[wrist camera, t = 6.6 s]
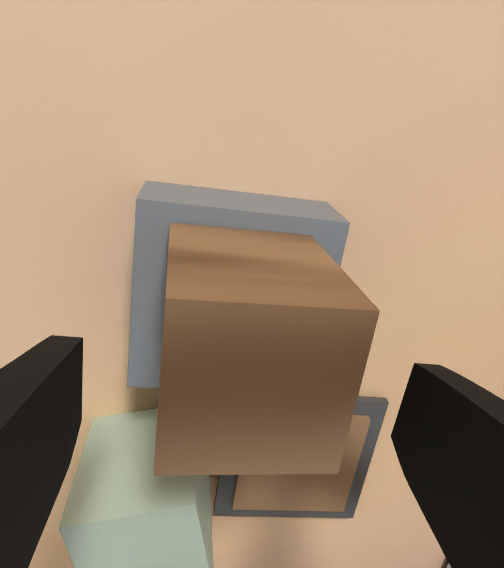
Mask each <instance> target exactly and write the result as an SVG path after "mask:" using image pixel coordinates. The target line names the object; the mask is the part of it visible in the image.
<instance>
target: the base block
mask: <svg viewBox="0 0 504 568" xmlns="http://www.w3.org/2000/svg"><path fill="white" fill-rule="evenodd" d="M170 223H181V224H192V225H204V226H215V227H226V228H237V229H249V230H260V231H271V232H282V233H294V234H305V235H311V236H312V237H313V238H314V239H315V240H316V241H317V242H318V243H319V244H320V246H321V247H322V248H323V249H324V250H325V251H326V252H327V253H328V254H329V256H330V257H331V258H332V259H333V260H334V261H335V262H336V263H337V264H338V265H339V267H340V265H341V261H342V256H343V252H344V247H345V243H346V238H347V234H348V229H349V225H350V222H349V221H347V220H346V219H345V218H344V217H343V216H342V215H341V214H339V213H338V212H337V211H336V210H335V209H334V208H333V207H331V206H330V205H329V204H328V203H327V202H322V201H314V200H305V199H297V198H288V197H280V196H272V195H263V194H255V193H246V192H238V191H230V190H221V189H213V188H204V187H196V186H188V185H179V184H171V183H162V182H154V181H146V182H145V184H144V185H143V187H142V189H141V191H140V193H139V194H138V196H137V198H136V213H135V234H134V255H133V276H132V296H131V317H130V338H129V358H128V379H127V387H141V388H159V378H160V362H161V347H162V332H163V317H164V303H165V288H166V273H167V258H168V244H169V229H170Z"/></svg>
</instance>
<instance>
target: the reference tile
mask: <svg viewBox="0 0 504 568" xmlns="http://www.w3.org/2000/svg"><path fill="white" fill-rule="evenodd" d="M388 403H389V402H388V401H387V399H386V398H376V397H359V396H358V398H357V402H356V405H355V409H354V413H353V417H352V421H351V425H350V429H349V433H348V437H347V440H346V444H345V448H344V452H343V456H342V460H341V464H340V468H339V472H338V474H267V475H219V479H218V485H217V491H216V497H215V504H214V515H217V516H273V517H329V518H353V516H354V513H355V509H356V506H357V503H358V500H359V497H360V493H361V490H362V487H363V484H364V480H365V477H366V474H367V471H368V468H369V464H370V461H371V458H372V455H373V451H374V448H375V445H376V442H377V439H378V435H379V432H380V429H381V426H382V423H383V419H384V416H385V413H386V410H387V406H388Z"/></svg>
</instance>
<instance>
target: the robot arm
mask: <svg viewBox="0 0 504 568" xmlns="http://www.w3.org/2000/svg"><path fill="white" fill-rule="evenodd" d="M82 369H83V338H80V337H67V336H54V335H51V336H50V337H48V338H46V339H45V340H43V341H42V342H40V343H39V344H37V345H36V346H34V347H33V348H31V349H30V350H28V351H27V352H25V353H24V354H22V355H21V356H19V357H18V358H16V359H15V360H13V361H12V362H10V363H9V364H7V365H6V366H4V367H3V368H1V369H0V568H28V567H29V564H30V562H31V559H32V557H33V554H34V552H35V549H36V547H37V545H38V542H39V540H40V537H41V535H42V532H43V530H44V527H45V525H46V522H47V520H48V518H49V515H50V513H51V510H52V508H53V505H54V503H55V500H56V498H57V495H58V493H59V491H60V488H61V486H62V483H63V481H64V478H65V476H66V473H67V470H68V468H69V465H70V462H71V458H72V455H73V451H74V447H75V444H76V440H77V436H78V432H79V428H80V424H81V421H82ZM391 438H392V441H393V444H394V447H395V450H396V453H397V456H398V459H399V462H400V465H401V467H402V470H403V473H404V476H405V478H406V480H407V482H408V484H409V486H410V488H411V490H412V492H413V494H414V496H415V498H416V500H417V502H418V504H419V506H420V508H421V510H422V512H423V514H424V516H425V518H426V520H427V522H428V524H429V526H430V528H431V529H432V531H433V533H434V535H435V537H436V539H437V541H438V543H439V545H440V547H441V549H442V551H443V553H444V555H445V556H446V558H447V560H448V562H449V563H448V565H447V567H446V568H504V400H503V399H501V398H499V397H498V396H496V395H494V394H492V393H491V392H489V391H487V390H486V389H484V388H482V387H481V386H479V385H477V384H475V383H474V382H472V381H470V380H468V379H466V378H465V377H463V376H461V375H459V374H457V373H455V372H453V371H451V370H449V369H447V368H445V367H443V366H440V365H433V364H420V363H414V365H413V368H412V371H411V375H410V378H409V381H408V384H407V387H406V390H405V393H404V396H403V400H402V403H401V406H400V409H399V412H398V415H397V418H396V421H395V424H394V428H393V431H392V434H391Z"/></svg>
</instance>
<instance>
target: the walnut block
mask: <svg viewBox="0 0 504 568" xmlns="http://www.w3.org/2000/svg"><path fill="white" fill-rule="evenodd" d="M379 312H380V311H379V310H378V308H377V307H376V306H375V305H374V304H373V303H372V302H371V301H370V300H369V299H368V297H367V296H366V295H365V294H364V293H363V292H362V291H361V290H360V289H359V287H358V286H357V285H356V284H355V283H354V282H353V281H352V280H351V279H350V278H349V276H348V275H347V274H346V273H345V272H344V271H343V270H342V269H341V268H340V267H339V265H338V264H337V263H336V262H335V261H334V260H333V259H332V258H331V257H330V256H329V254H328V253H327V252H326V251H325V250H324V249H323V248H322V247H321V246H320V244H319V243H318V242H317V241H316V240H315V239H314V238H313V237H312V236H311V235H305V234H294V233H282V232H271V231H260V230H249V229H237V228H226V227H215V226H204V225H192V224H181V223H170V229H169V244H168V258H167V273H166V288H165V303H164V317H163V332H162V347H161V362H160V378H159V394H158V410H157V426H156V442H155V458H154V474H153V476H167V475H267V474H338V472H339V468H340V464H341V460H342V456H343V452H344V448H345V444H346V440H347V437H348V433H349V429H350V425H351V421H352V417H353V413H354V409H355V405H356V402H357V398H358V394H359V390H360V386H361V382H362V378H363V374H364V370H365V366H366V363H367V359H368V355H369V351H370V347H371V343H372V339H373V335H374V331H375V328H376V324H377V320H378V316H379Z"/></svg>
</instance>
